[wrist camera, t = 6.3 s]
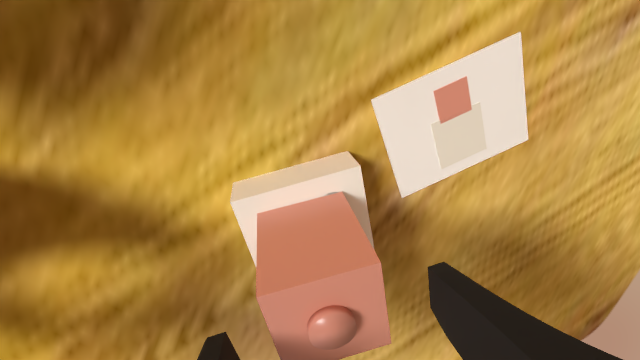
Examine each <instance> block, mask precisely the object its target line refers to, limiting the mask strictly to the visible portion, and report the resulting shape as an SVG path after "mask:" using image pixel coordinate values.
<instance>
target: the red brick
mask: <svg viewBox="0 0 640 360" xmlns="http://www.w3.org/2000/svg"><path fill="white" fill-rule="evenodd" d="M256 298H257V301H258V303H259V306H260V308H261V311H262V314H263V316H264V319H265V321H266V324H267V326H268V329H269V331H270V334H271V336H272V339H273V341H274V344H275V346H276V349H277V351H278V354H279V357H280V359H281V360H339V359H342V358H345V357H349V356H352V355H355V354H358V353H362V352H365V351H368V350H372V349H375V348H378V347H381V346H385V345H388V344H391V337H390V329H389V321H388V314H387V306H386V298H385V290H384V282H383V275H382V267H381V262H380V260H379V258H378V256H377V254H376V252H375V251H374V249H373V247H372V245H371V243H370V241H369V240H368V238H367V236H366V234H365V232H364V231H363V229H362V227H361V225H360V223H359V221H358V220H357V218H356V216H355V214H354V212H353V210H352V209H351V207H350V205H349V203H348V201H347V200H346V198H345V196H344V194H343V192H338V193H335V194H331V195H327V196H323V197H319V198H315V199H311V200H307V201H304V202H300V203H296V204H292V205H288V206H284V207H280V208H277V209H273V210H269V211H265V212H261V213H257V267H256Z"/></svg>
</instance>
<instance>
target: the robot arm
mask: <svg viewBox="0 0 640 360" xmlns="http://www.w3.org/2000/svg"><path fill="white" fill-rule="evenodd" d="M428 276H429V291H430V306H431V309H432V311H433V313H434V315H435V317H436V318H437V320H438V322H439V324H440V326H441V327H442V329H443V331H444V333H445V334H446V336H447V337H448V339H449V340H450V342H451V343H452V345H453V346H454V347H455V349H456V350H457V352H458V353H459V355H460V356H461V357H462V359H463V360H623V359H620V358H618V357H615V356H613V355H611V354H608V353H606V352H604V351H601V350H599V349H597V348H595V347H592V346H590V345H588V344H586V343H584V342H582V341H580V340H578V339H576V338H574V337H572V336H569V335H567V334H565V333H563V332H561V331H559V330H557V329H555V328H553V327H552V326H550V325H548V324H546V323H544V322H542V321H540V320H538V319H537V318H535V317H533V316H531V315H529V314H527V313H526V312H524V311H522V310H520V309H519V308H517V307H515V306H513V305H512V304H510V303H508V302H507V301H505V300H503V299H502V298H500V297H498V296H497V295H495V294H493V293H492V292H490V291H489V290H487V289H485V288H484V287H482V286H481V285H479V284H478V283H476V282H474V281H473V280H471V279H470V278H468V277H467V276H465V275H464V274H462V273H461V272H459V271H457V270H456V269H454V268H453V267H451V266H450V265H448V264H447V263H445V262H442V263H439V264H436V265H433V266H429V267H428ZM197 360H240V359H239V357H238V355H237V353H236V351H235V349H234V347H233V345H232V343H231V341H230V339H229V337H228V335H227V333H226V332H224V333H220V334H217V335H214V336H211V337H208V338H207V339H206V341H205V343H204V345H203V347H202V350H201V352H200V354H199V356H198V359H197Z"/></svg>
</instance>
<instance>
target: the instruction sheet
mask: <svg viewBox="0 0 640 360" xmlns="http://www.w3.org/2000/svg"><path fill="white" fill-rule="evenodd" d="M371 102H372V105H373V109H374V112H375V115H376V118H377V121H378V125H379V128H380V131H381V134H382V137H383V140H384V144H385V147H386V150H387V153H388V156H389V160H390V163H391V166H392V169H393V172H394V176H395V179H396V182H397V185H398V188H399V191H400V195H401V197H402V198H403V197H405V196H408V195H410V194H412V193H414V192H416V191H418V190H421V189H423V188H425V187H427V186H429V185H431V184H434V183H436V182H438V181H440V180H442V179H444V178H447V177H449V176H451V175H453V174H455V173H457V172H460V171H462V170H464V169H466V168H468V167H470V166H473V165H475V164H477V163H479V162H481V161H483V160H486V159H488V158H490V157H492V156H494V155H496V154H499V153H501V152H503V151H505V150H507V149H509V148H512V147H514V146H516V145H518V144H520V143H522V142H525V141H527V140H528V130H527V115H526V101H525V86H524V72H523V57H522V42H521V32H518V33H516V34H514V35H511V36H509V37H507V38H505V39H503V40H501V41H498V42H496V43H494V44H492V45H490V46H487V47H485V48H483V49H481V50H479V51H476V52H474V53H472V54H470V55H468V56H465V57H463V58H461V59H459V60H457V61H455V62H452V63H450V64H448V65H446V66H444V67H441V68H439V69H437V70H435V71H433V72H430V73H428V74H426V75H424V76H422V77H420V78H417V79H415V80H413V81H411V82H409V83H406V84H404V85H402V86H400V87H398V88H395V89H393V90H391V91H389V92H387V93H384V94H382V95H380V96H378V97H376V98H374V99H371Z"/></svg>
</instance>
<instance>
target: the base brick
mask: <svg viewBox="0 0 640 360" xmlns="http://www.w3.org/2000/svg"><path fill="white" fill-rule="evenodd" d="M338 192H343V194H344V196H345V198H346V200H347V201H348V203H349V205H350V207H351V209H352V210H353V212H354V214H355V216H356V218H357V220H358V221H359V223H360V225H361V227H362V229H363V231H364V232H365V234H366V236H367V238H368V240H369V241H370V243H371V245H372V247H373V249H374V244H373V238H372V232H371V226H370V220H369V214H368V208H367V202H366V196H365V190H364V184H363V178H362V172H361V166H360V165H359V163H358V162H357V161H356V160H355V159H354V158H353V157H352V155H351V154H350V153H349V152H348V151H346V152H342V153H339V154H335V155H331V156H328V157H324V158H321V159H317V160H313V161H310V162H306V163H302V164H299V165H295V166H292V167H288V168H284V169H281V170H277V171H274V172H270V173H266V174H263V175H259V176H256V177H252V178H248V179H245V180H241V181H238V182H234V183H233V187H232V194H231V200H230V203H231V206H232V208H233V211H234V213H235V216H236V218H237V221H238V223H239V226H240V228H241V231H242V233H243V236H244V238H245V241H246V243H247V246H248V248H249V251H250V253H251V256H252V258H253V261H254V263H255V266H256V267H257V213H261V212H265V211H269V210H273V209H277V208H280V207H284V206H288V205H292V204H296V203H300V202H304V201H307V200H311V199H315V198H319V197H323V196H327V195H331V194H335V193H338ZM374 251H375V250H374Z"/></svg>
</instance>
